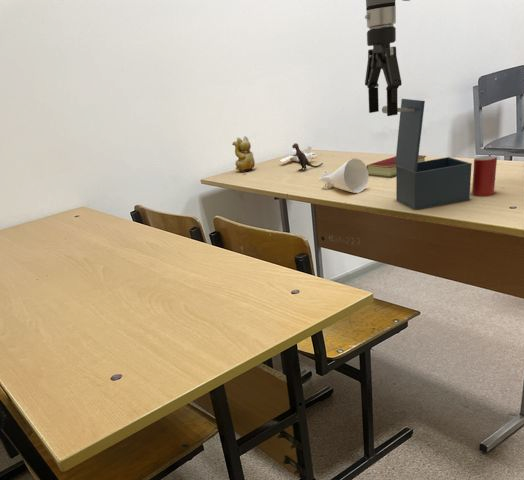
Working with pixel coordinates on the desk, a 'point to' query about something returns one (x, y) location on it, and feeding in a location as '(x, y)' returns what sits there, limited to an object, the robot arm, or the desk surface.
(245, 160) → the decorative figurine
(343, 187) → the rocket engine
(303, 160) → the dinosaur model
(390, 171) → the hardcover book
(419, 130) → the lid
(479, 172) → the can
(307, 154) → the airplane model
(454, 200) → the chest
